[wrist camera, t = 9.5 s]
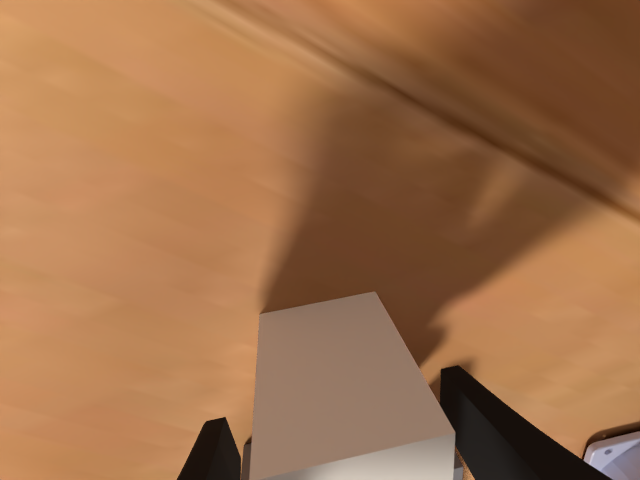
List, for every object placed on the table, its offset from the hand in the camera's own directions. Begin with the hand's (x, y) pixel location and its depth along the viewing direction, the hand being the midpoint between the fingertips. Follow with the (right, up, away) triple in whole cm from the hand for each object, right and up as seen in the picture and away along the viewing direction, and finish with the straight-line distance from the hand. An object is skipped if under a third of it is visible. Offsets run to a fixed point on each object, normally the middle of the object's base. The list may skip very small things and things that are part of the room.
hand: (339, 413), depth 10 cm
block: (0, +1, +3) cm, 3 cm away
